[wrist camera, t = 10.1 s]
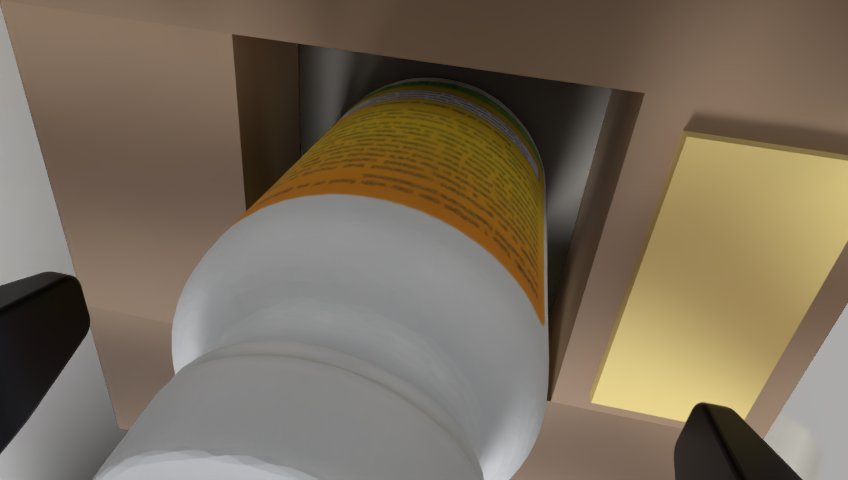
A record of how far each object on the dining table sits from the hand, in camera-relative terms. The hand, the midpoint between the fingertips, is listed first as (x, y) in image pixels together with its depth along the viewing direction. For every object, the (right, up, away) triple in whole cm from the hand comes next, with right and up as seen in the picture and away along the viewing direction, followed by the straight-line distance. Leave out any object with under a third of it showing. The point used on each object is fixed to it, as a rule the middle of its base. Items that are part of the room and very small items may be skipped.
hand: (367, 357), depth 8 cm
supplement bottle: (+1, +3, +6) cm, 7 cm away
